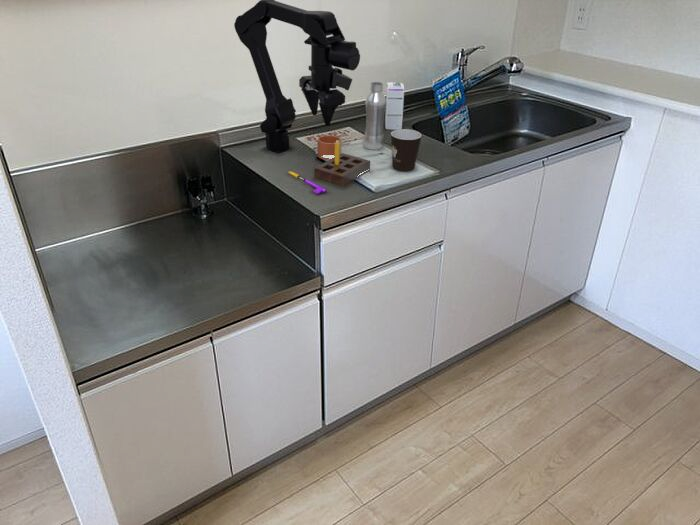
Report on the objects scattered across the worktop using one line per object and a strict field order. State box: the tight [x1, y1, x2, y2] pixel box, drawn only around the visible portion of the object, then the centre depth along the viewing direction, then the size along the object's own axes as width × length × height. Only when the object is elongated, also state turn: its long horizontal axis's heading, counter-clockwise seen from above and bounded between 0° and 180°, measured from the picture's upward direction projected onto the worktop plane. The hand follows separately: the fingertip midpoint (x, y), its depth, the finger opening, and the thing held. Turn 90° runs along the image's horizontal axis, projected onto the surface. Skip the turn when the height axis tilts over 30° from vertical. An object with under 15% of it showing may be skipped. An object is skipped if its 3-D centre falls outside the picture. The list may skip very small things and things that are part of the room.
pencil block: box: [313, 152, 371, 188], centre depth 157 cm, size 10×14×4 cm
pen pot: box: [317, 134, 342, 161], centre depth 168 cm, size 7×7×6 cm
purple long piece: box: [287, 170, 327, 195], centre depth 152 cm, size 3×1×16 cm
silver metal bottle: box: [362, 81, 386, 151], centre depth 170 cm, size 6×7×20 cm
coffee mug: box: [390, 128, 422, 173], centre depth 162 cm, size 12×9×10 cm
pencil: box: [334, 139, 340, 165], centre depth 156 cm, size 1×1×10 cm
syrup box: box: [384, 81, 405, 131], centre depth 189 cm, size 6×6×14 cm
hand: (321, 120), depth 158 cm, fingers open, 9 cm apart
